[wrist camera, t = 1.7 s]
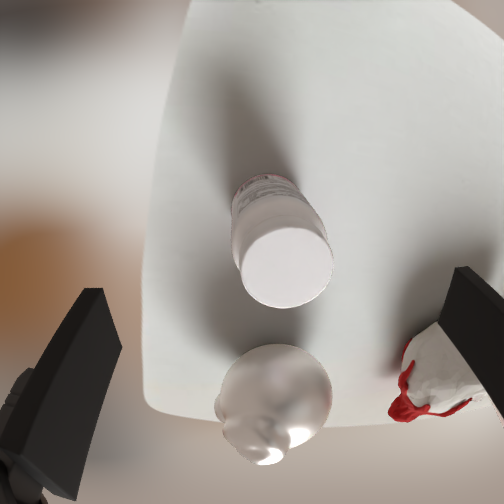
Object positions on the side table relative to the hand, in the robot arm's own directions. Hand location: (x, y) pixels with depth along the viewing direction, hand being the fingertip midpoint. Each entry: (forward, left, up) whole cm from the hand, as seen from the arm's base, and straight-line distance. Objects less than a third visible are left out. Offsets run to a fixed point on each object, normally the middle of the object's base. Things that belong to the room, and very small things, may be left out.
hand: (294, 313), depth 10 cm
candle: (+15, +17, -11) cm, 25 cm away
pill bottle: (0, 0, -11) cm, 11 cm away
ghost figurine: (+14, 0, -11) cm, 18 cm away
